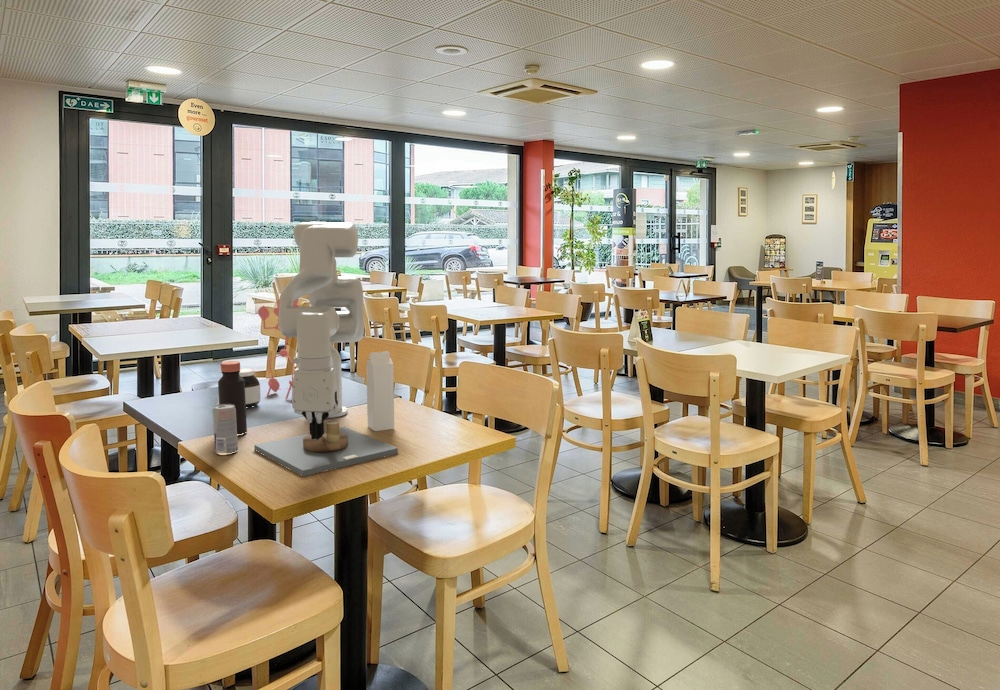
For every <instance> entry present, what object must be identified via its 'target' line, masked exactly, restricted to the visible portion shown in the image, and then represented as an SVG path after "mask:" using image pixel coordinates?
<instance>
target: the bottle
mask: <svg viewBox="0 0 1000 690" xmlns="http://www.w3.org/2000/svg"><path fill="white" fill-rule="evenodd" d="M240 369H241V362H240V361H236V360H235V361H234V360H232V361H231V360H229V361H223V362H221V363H220V372H221V374H222V376H221V377H220V378H219V380H218V382H217V387H218V389H217V390H218V395H219V405H221V404H233V405H235V408H236V423H237V434H242V433H245V432H248V427H247V426H248V425H247V409H246V401H245V381H244V379H243V378H242V377H241V376H240V375H239V372H240Z"/></svg>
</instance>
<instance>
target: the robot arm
mask: <svg viewBox="0 0 1000 690" xmlns="http://www.w3.org/2000/svg"><path fill="white" fill-rule="evenodd" d="M293 238H294V241H295V243H296V245H297V247H298V249H299V267H298V269H299V270H298V272H299V273H297V274H296V275H295V276H294V277H292V278H291V279H290V280H289V281H288V282H287V284H286V285H285V286H284V288H283V289H282V292H281V293H282V294H281V293H280V295H281V297H280V296H279V299H280V303H279V326H278V328H279V329H280V331H279V332H281V335H283V336H285V338H286V337H288V338H296V341H297V342H296V343H297V344H296V346H297V356H296V357H293V358H292V362H293V364H295V365H297V368H294V370H293V386H292V387H291V388H292V389H291V405H292V409H293V412H294V413H295V414H297V415H300V416H303V417H304V418H305V419H306V421H307V423H308V425H309V434H310V435H311V439H319V438H321V437H322V436H323V434H324V431H325V423H324V422H325V420H326V419H333V418H334V419H335V418H338V417H342V416H343V417H344V416H345V415H347V414H348V411H349V410H348V408H347V407H346V406H343V386H342V382H343V381H342V357H341V354H340V353H339V351H338V350H337V349H336V347H334V346H333V344H336V343H337V344H339V343H357V342H360V341H361V340H362V339H363V338H364V335H365V334H364V333H365V311H364V310H365V308H364V307H365V306H364V289H363V285H362V281H361V280H360V279H359V278H358V277H356V276H351V275H344V276H343V275H339V276H338V274H337V261H336V260H337V259H336V258H353V257H355V256H356V254H357V251H358V247H359V245H358V244H359V234H358V229H357V227H356V225H355V224H354V223H352V222H333V221H332V222H331V221H329V222H327V221H309V222H307V221H306V222H305V221H304V222H301V223H298V224H296V225H295V226H294V227H293ZM305 295H307V298H308V301H309V304H310V306H300V307H291V306H292V304H293V303H294V302H295V301H296V300H297V299H298V300H299V299H300V298H301V297H303V296H305ZM336 309H346V310H336Z"/></svg>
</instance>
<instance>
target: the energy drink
mask: <svg viewBox="0 0 1000 690" xmlns="http://www.w3.org/2000/svg"><path fill="white" fill-rule="evenodd" d="M212 419H213V437H214V453H215V452H217V453H232V452H235V451H237V450H239V449H238V448H239V447H238V436H237V423H236V408H235V405H233V404H221V405H217V404H216V405H213V409H212ZM237 452H238V451H237Z"/></svg>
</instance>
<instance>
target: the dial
mask: <svg viewBox="0 0 1000 690" xmlns="http://www.w3.org/2000/svg"><path fill="white" fill-rule="evenodd" d="M339 428H340V423H339V422H336V421H331V422H326V430H327V432H324V434H323V436H322V437H321V438H319V439H311V435H308V436H306V437H304V438H303V448H304V449H305V450H307V451H311V452H332V451H337V450H341V449H344V448H345V447H347V446H348V436H347V435H346V434H343V433H339Z"/></svg>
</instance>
